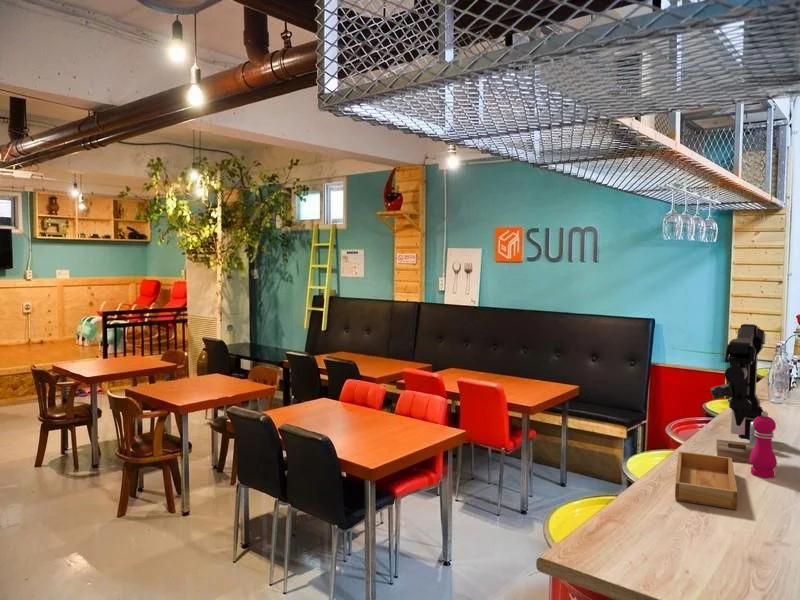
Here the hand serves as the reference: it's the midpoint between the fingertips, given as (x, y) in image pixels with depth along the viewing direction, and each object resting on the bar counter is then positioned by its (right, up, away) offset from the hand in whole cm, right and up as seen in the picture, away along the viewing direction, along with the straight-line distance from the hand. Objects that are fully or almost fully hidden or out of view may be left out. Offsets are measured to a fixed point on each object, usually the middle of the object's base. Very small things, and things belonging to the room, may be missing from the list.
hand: (737, 423), depth 200 cm
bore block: (0, -11, +1) cm, 11 cm away
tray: (-24, -14, -25) cm, 38 cm away
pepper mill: (-2, -12, -17) cm, 21 cm away
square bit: (0, -3, 0) cm, 3 cm away
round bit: (+11, -10, +9) cm, 17 cm away
